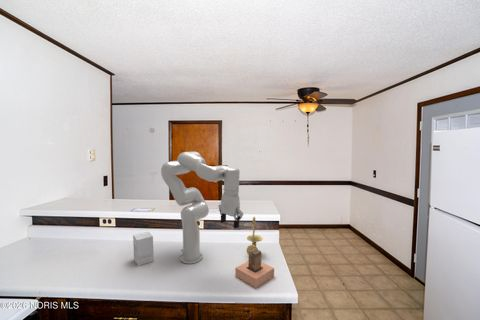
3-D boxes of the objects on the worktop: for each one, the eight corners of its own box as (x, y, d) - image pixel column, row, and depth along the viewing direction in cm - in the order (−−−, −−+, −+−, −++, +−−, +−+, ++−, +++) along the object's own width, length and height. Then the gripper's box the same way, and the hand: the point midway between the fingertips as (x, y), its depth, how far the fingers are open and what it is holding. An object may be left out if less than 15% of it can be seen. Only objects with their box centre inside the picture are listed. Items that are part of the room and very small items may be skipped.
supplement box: (149, 255, 145) (149, 231, 144) (154, 261, 138) (153, 236, 136) (133, 259, 140) (132, 234, 138) (137, 266, 132) (136, 239, 131)
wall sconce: (260, 263, 136) (261, 220, 134) (244, 261, 138) (244, 219, 136) (263, 252, 150) (263, 213, 148) (248, 250, 152) (248, 211, 149)
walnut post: (248, 275, 123) (248, 251, 122) (254, 272, 127) (254, 248, 126) (255, 279, 120) (255, 254, 119) (260, 275, 123) (261, 251, 122)
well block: (235, 276, 123) (235, 267, 123) (253, 266, 133) (253, 258, 133) (255, 288, 114) (255, 279, 113) (274, 276, 123) (274, 268, 123)
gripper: (214, 189, 125) (213, 221, 127) (238, 197, 113) (236, 232, 115) (225, 187, 130) (223, 218, 132) (248, 194, 119) (246, 228, 120)
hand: (229, 224), depth 124 cm, fingers open, 9 cm apart
